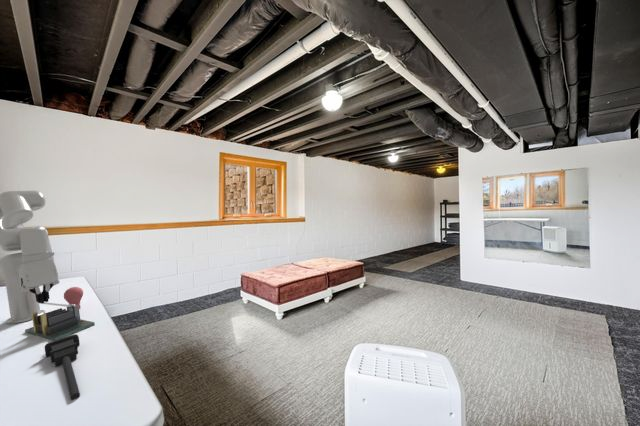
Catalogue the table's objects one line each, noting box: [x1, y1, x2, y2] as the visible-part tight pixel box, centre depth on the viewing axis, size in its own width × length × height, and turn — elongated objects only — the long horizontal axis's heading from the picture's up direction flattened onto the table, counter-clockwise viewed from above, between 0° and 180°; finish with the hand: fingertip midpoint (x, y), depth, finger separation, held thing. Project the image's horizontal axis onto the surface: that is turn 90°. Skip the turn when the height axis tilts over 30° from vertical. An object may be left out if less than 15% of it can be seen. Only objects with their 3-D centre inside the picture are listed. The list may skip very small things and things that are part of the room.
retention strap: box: [39, 302, 75, 308], centre depth 112 cm, size 3×12×2 cm, turn 157°
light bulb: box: [63, 286, 84, 310], centre depth 131 cm, size 7×7×12 cm
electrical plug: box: [44, 333, 81, 401], centre depth 83 cm, size 9×42×5 cm, turn 48°
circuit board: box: [24, 303, 96, 341], centre depth 112 cm, size 24×13×9 cm, turn 67°
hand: (43, 302), depth 108 cm, fingers closed
